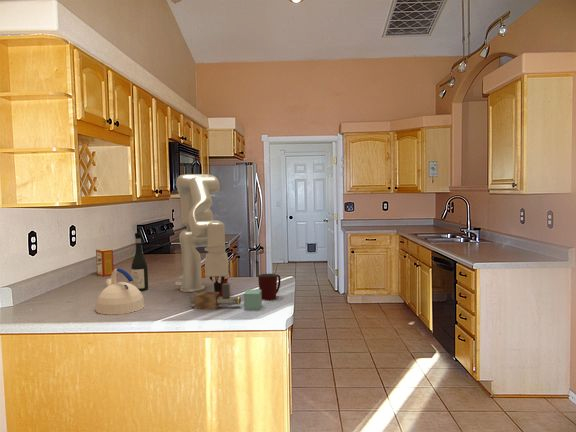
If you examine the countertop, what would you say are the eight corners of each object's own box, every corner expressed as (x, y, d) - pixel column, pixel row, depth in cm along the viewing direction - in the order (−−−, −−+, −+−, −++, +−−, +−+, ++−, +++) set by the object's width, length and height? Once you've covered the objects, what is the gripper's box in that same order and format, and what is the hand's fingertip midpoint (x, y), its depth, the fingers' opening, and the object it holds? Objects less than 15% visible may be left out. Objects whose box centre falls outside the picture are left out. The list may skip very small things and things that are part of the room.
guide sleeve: (194, 309, 197) (194, 295, 197) (198, 305, 204) (198, 291, 203) (216, 309, 196) (215, 295, 196) (219, 305, 203) (219, 291, 202)
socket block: (244, 309, 195) (243, 293, 194) (247, 305, 203) (246, 289, 202) (259, 309, 194) (258, 293, 194) (261, 305, 202) (261, 289, 202)
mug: (274, 294, 222) (273, 271, 221) (286, 297, 216) (285, 274, 215) (254, 298, 214) (254, 275, 213) (266, 301, 208) (266, 278, 207)
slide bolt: (190, 305, 199) (189, 285, 198) (192, 303, 202) (191, 283, 202) (239, 305, 197) (238, 284, 196) (240, 303, 200) (240, 283, 200)
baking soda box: (97, 274, 281) (95, 249, 280) (107, 273, 286) (106, 248, 285) (103, 276, 275) (102, 250, 274) (113, 275, 279) (112, 249, 278)
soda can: (217, 299, 214) (216, 274, 213) (212, 296, 220) (211, 271, 219) (231, 297, 217) (230, 272, 216) (226, 294, 224) (225, 270, 223)
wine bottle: (143, 291, 233) (140, 233, 231) (129, 291, 234) (126, 233, 232) (151, 288, 240) (148, 232, 238) (137, 287, 242) (135, 232, 240)
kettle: (128, 300, 216) (126, 263, 214) (153, 307, 202) (152, 267, 201) (87, 310, 200) (85, 269, 199) (111, 318, 187) (109, 274, 186)
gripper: (197, 251, 195) (198, 293, 196) (231, 251, 193) (232, 293, 195) (202, 249, 202) (203, 289, 203) (235, 248, 201) (236, 289, 202)
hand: (217, 291), depth 199 cm, fingers closed
